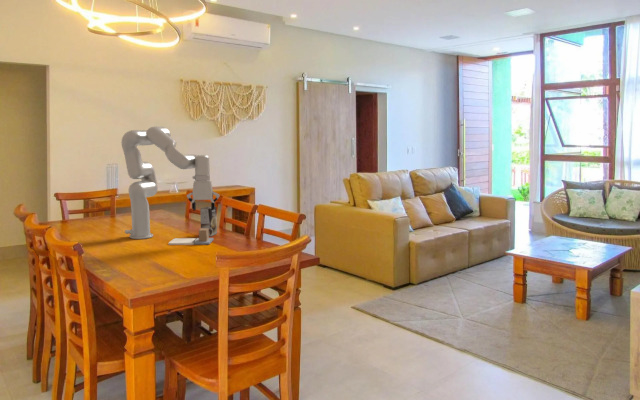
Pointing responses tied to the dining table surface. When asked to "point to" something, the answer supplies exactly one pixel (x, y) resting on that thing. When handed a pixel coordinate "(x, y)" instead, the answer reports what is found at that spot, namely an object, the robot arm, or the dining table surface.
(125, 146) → the robot arm
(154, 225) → the dining table surface
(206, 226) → the coffee box
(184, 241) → the board
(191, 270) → the dining table surface
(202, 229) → the stub
